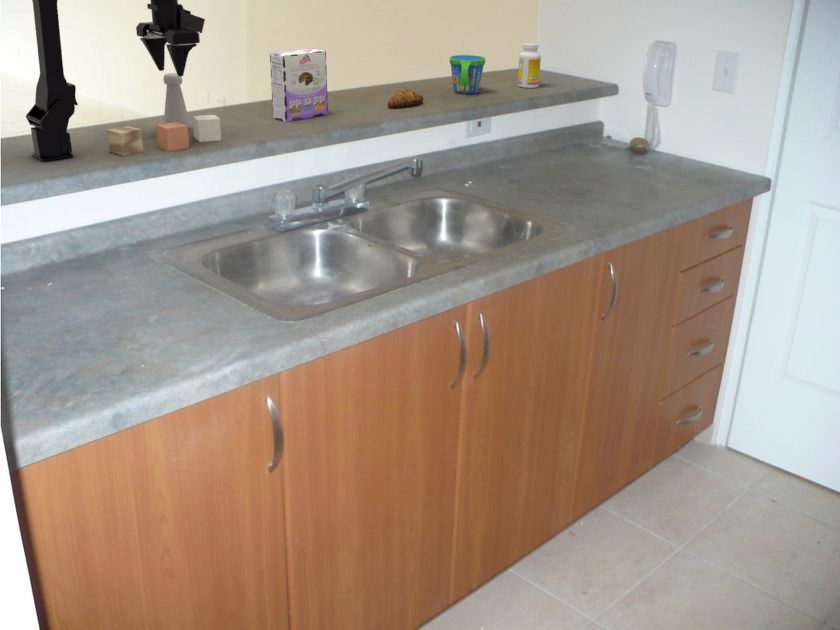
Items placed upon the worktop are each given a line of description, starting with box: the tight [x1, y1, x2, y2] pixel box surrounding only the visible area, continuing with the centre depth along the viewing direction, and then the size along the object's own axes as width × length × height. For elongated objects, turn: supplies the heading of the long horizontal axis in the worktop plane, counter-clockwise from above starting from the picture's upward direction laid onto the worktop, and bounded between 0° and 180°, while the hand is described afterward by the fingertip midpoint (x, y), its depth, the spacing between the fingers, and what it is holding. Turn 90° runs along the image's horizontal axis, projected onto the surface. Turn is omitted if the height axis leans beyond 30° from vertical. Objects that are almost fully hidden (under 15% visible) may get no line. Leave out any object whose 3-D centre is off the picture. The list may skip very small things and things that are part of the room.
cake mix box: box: [269, 47, 329, 123], centre depth 224 cm, size 14×6×16 cm, turn 134°
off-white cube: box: [192, 114, 222, 143], centre depth 202 cm, size 5×5×5 cm
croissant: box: [387, 87, 424, 109], centre depth 243 cm, size 14×7×5 cm, turn 139°
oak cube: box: [106, 125, 145, 157], centre depth 190 cm, size 5×5×5 cm
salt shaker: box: [162, 72, 190, 126], centre depth 209 cm, size 6×6×13 cm
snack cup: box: [449, 54, 486, 95], centre depth 262 cm, size 16×10×10 cm
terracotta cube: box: [155, 122, 190, 152], centre depth 194 cm, size 5×5×5 cm
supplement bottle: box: [517, 42, 542, 89], centre depth 273 cm, size 7×7×13 cm
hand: (170, 73), depth 197 cm, fingers open, 9 cm apart
